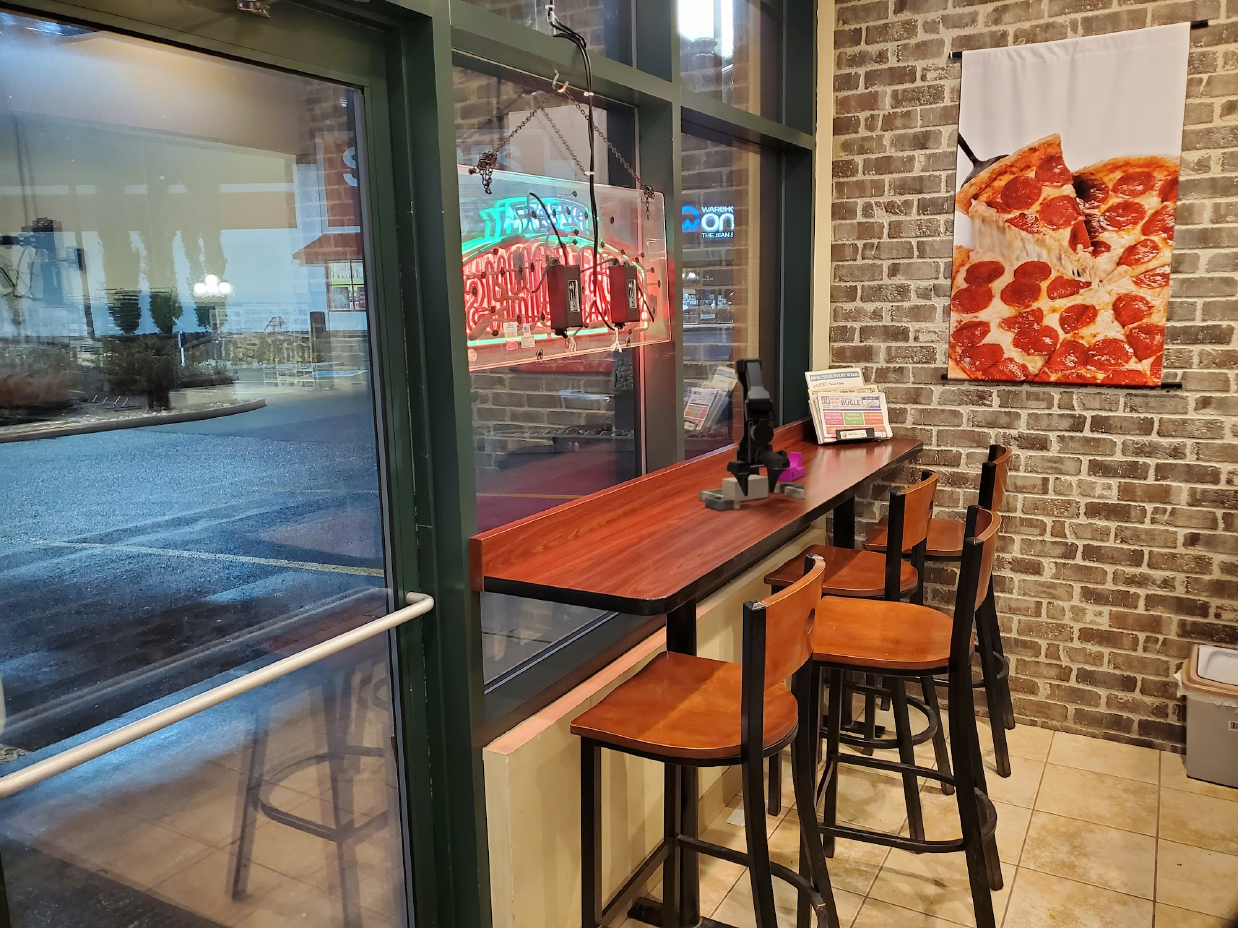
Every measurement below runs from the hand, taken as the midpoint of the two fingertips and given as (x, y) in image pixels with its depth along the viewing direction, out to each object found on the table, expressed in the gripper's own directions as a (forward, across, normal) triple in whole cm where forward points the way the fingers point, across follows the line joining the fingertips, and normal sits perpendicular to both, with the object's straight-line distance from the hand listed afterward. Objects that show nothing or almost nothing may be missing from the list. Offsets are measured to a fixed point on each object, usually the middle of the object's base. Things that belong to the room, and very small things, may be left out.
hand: (758, 494), depth 267 cm
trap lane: (+2, 0, +3) cm, 4 cm away
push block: (+2, 0, +7) cm, 7 cm away
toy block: (+2, +32, +25) cm, 41 cm away
